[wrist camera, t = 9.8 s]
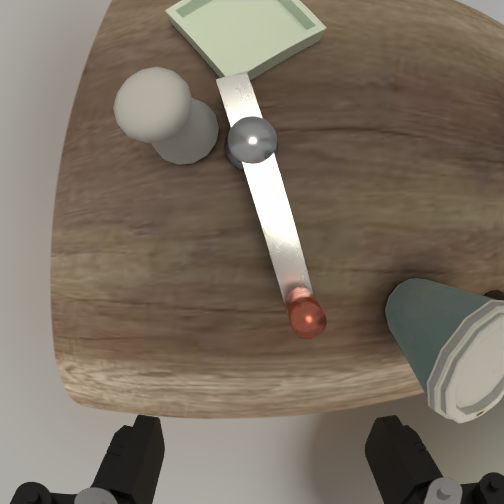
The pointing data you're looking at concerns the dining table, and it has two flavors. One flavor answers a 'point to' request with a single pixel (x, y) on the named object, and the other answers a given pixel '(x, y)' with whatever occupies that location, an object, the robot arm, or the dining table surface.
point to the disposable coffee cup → (450, 345)
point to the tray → (245, 32)
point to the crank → (270, 201)
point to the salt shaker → (166, 115)
